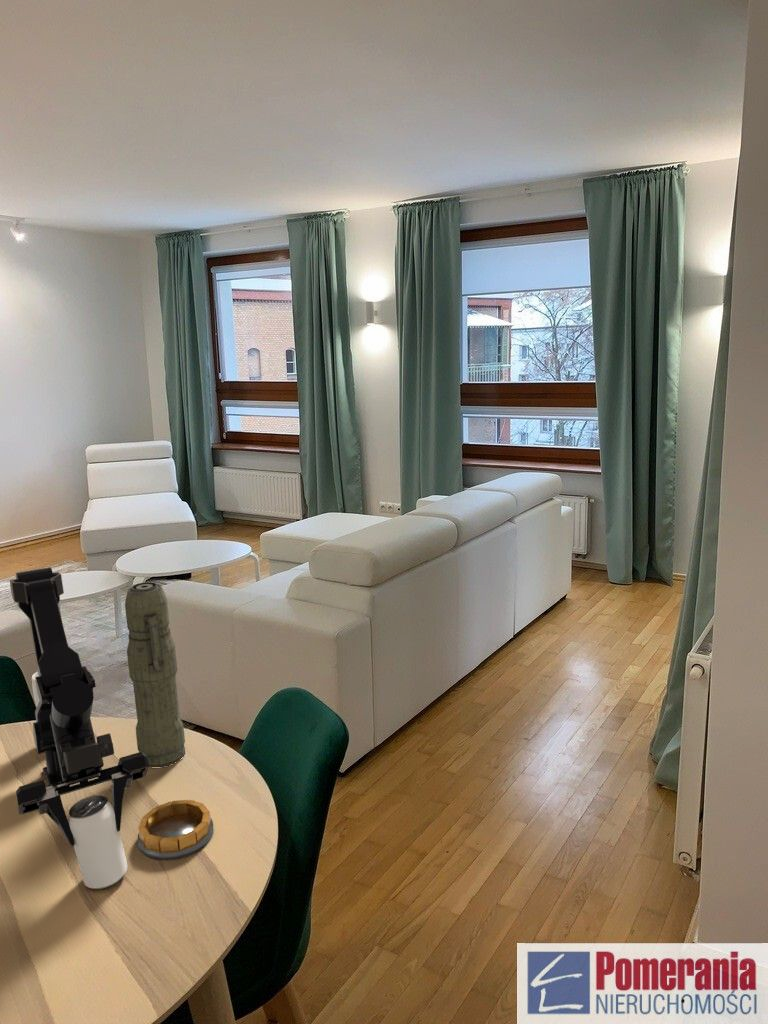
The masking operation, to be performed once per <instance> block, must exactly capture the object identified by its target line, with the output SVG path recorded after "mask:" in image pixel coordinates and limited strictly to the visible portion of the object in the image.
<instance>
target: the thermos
mask: <svg viewBox="0 0 768 1024" xmlns="http://www.w3.org/2000/svg"><path fill="white" fill-rule="evenodd" d="M124 609H125V618H126V626H127V630H128V644H127V648H126V656H127V657H126V658H127V664H128V674H129V678H130V679H131V681H132V684H133V693H134V704H135V710H136V720H137V723H136V726H135V737H136V745H137V751H138V752H143V753H144V754H146V756H147V759H148V763H149V767H163V768H165V767H164V766H168V767H170V766H169V765H171V764H174V763H175V762H177V761H179V760H180V759H181V758H182V757H184V758H185V756H186V747H185V743H186V739H185V738H186V737H185V728H184V727H185V726H184V722H183V720H182V718H181V717H180V707H179V705H180V704H179V699H178V698H179V697H178V688H177V687H178V686H177V677H176V675H177V672H178V661H177V653H176V642H175V641H174V638H173V637H172V635H171V628H169V627H170V626H169V624H170V617H169V607H168V598H167V595H166V593H165V591H164V588H163V586H162V585H161V584H160V583H156V582H152V581H150V582H149V581H145V582H139V583H136V584H133V585H132V586H130V587H129V588H128V589H127V592H126V597H125V602H124ZM184 755H185V756H184ZM181 760H182V759H181ZM181 760H180V761H181ZM180 761H179V762H180ZM177 763H178V762H177ZM175 764H176V763H175ZM175 764H174V765H175ZM171 766H172V765H171Z"/></svg>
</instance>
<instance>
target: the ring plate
mask: <svg viewBox="0 0 768 1024" xmlns="http://www.w3.org/2000/svg"><path fill="white" fill-rule="evenodd" d="M137 834H138V835H137V846H138V847H137V848H138V849H139V852H141V854H142V855H143V856H145V857H147V858H149V859H151V860H157V861H174V860H175V861H176V860H179V859H184V858H186V857H189V856H192V855H193V854H196V853H197V852H199V851H200V850H202V849H203V848H205V846H207V845H208V843H209V842H210V841H211V839H212V838H213V835H214V822H213V819H212V817H211V811H210V810H209V809H208V808H207V806H206V805H205V804H204V803H202V802H200V801H195V800H191V799H183V800H182V799H180V800H172V801H171V800H170V801H168V802H166V803H163V804H160V805H158V806H155V807H154V808H152V809H150V811H148V812H147V813H146V814H144V815H143V816H142V818H141V819H140V823H139V824H138V833H137Z"/></svg>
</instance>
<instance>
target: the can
mask: <svg viewBox="0 0 768 1024" xmlns="http://www.w3.org/2000/svg"><path fill="white" fill-rule="evenodd" d="M68 816H69V817H68V823H69V826H70V829H71V832H72V835H73V840H74V847H73V848H74V851H75V852H74V853H75V856H76V860H77V864H78V865H79V869H80V874H81V877H82V881H83V884H84V886H85V887H87V888H89V889H91V890H102V889H106V888H108V887H111V886H113V885H115V884H116V883H118V882H119V881H120V880H121V879H123V877H125V874H126V873H127V870H128V866H129V865H128V862H127V861H128V860H127V858H126V853H125V849H124V845H123V841H122V837H121V834H120V832H121V831H119V832H117V826H116V820H115V813H114V809H113V804H111V803H110V802H109V798H108V797H107V796H105V795H102V794H99V795H98V794H97V795H91V796H87V797H85V798H82V799H80V800H78V801H77V802H75V803H74V804H73V805H72V806H71V807H70V808H69V810H68Z"/></svg>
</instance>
